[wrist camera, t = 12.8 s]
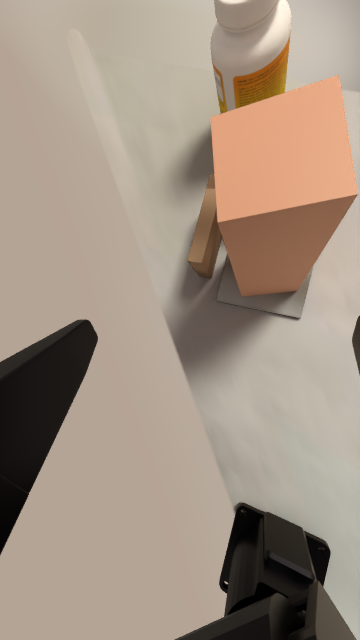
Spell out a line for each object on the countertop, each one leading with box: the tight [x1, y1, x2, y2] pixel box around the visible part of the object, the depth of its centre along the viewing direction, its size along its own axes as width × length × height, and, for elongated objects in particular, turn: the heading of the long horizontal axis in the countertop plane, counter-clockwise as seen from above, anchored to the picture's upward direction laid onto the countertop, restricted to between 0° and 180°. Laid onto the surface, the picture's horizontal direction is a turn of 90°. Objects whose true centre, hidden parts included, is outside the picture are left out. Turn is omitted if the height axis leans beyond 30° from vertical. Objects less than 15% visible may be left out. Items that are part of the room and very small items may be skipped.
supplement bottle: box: [211, 0, 291, 114], centre depth 19 cm, size 5×5×10 cm
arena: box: [187, 174, 313, 318], centre depth 20 cm, size 9×9×4 cm
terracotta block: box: [211, 75, 358, 297], centre depth 15 cm, size 4×4×13 cm
